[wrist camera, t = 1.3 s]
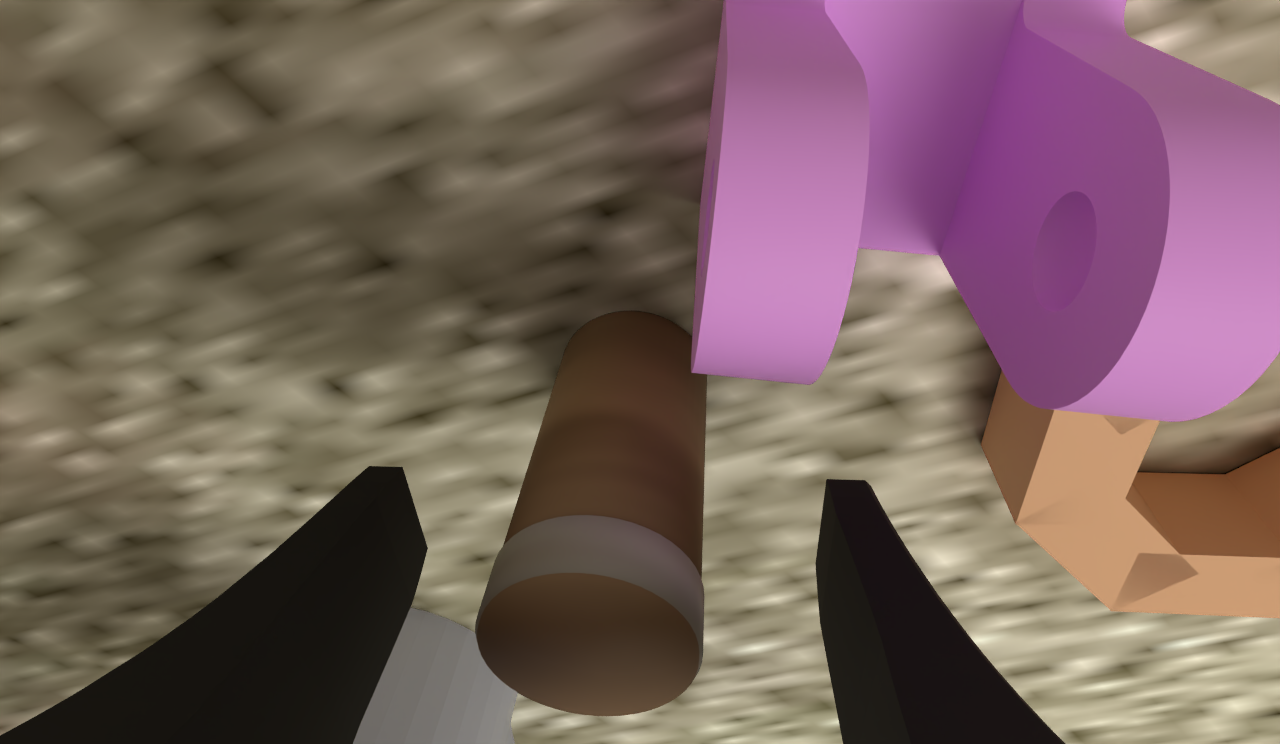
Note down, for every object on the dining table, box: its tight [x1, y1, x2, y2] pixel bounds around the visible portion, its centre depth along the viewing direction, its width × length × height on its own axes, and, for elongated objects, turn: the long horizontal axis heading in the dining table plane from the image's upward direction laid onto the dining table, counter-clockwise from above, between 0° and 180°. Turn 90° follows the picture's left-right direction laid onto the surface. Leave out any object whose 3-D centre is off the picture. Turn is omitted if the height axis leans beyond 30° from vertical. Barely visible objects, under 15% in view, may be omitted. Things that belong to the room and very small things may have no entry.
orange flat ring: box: [981, 371, 1280, 618], centre depth 14 cm, size 9×9×2 cm
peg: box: [475, 311, 707, 716], centre depth 13 cm, size 3×3×7 cm
